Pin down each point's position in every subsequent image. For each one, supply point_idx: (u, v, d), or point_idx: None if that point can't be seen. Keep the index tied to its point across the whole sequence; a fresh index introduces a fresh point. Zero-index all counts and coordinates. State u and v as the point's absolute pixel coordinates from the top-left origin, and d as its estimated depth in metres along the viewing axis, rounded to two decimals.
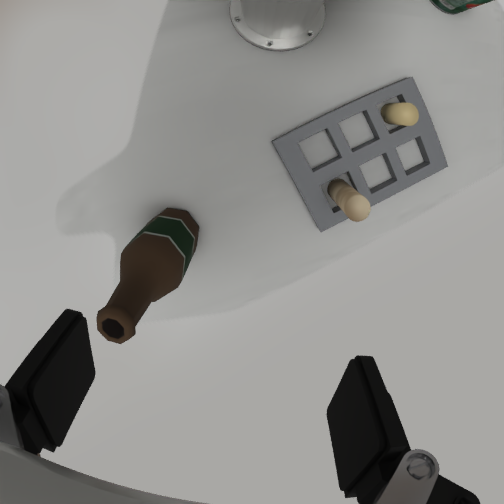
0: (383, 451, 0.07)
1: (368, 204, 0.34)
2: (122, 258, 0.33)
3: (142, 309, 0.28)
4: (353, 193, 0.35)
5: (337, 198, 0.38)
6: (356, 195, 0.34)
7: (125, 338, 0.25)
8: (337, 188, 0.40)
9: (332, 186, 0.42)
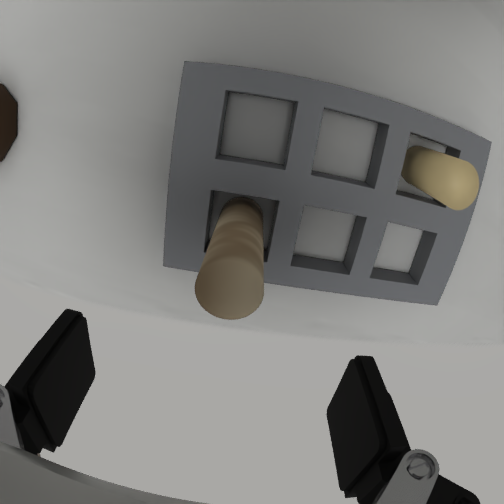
0: (383, 451, 0.07)
1: (258, 298, 0.14)
2: None
3: None
4: (245, 251, 0.15)
5: (214, 235, 0.17)
6: (245, 261, 0.14)
7: None
8: (232, 216, 0.19)
9: (231, 207, 0.20)
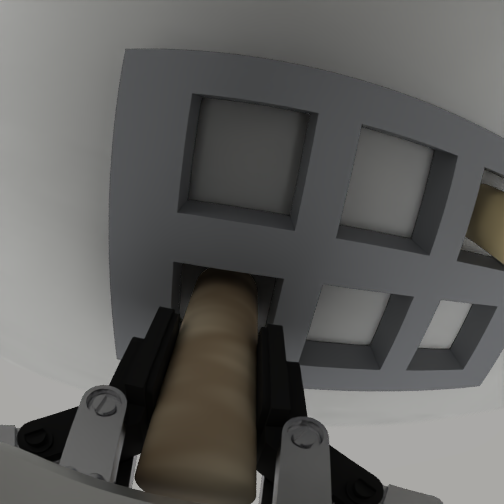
0: (268, 413, 0.08)
1: (247, 499, 0.06)
2: None
3: None
4: (220, 428, 0.07)
5: (173, 360, 0.09)
6: (220, 462, 0.06)
7: None
8: (204, 318, 0.11)
9: (206, 289, 0.13)
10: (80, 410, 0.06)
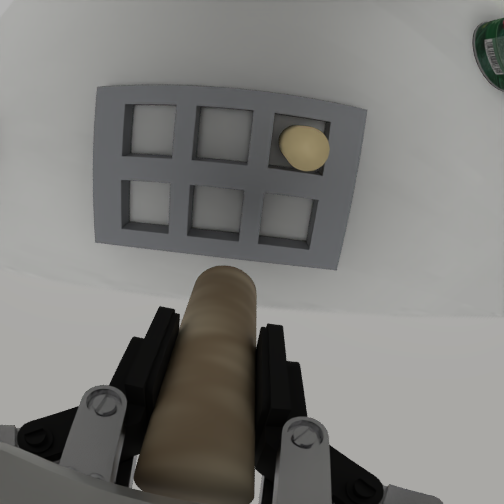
0: (268, 413, 0.08)
1: (245, 499, 0.06)
2: None
3: None
4: (219, 429, 0.07)
5: (172, 361, 0.09)
6: (218, 462, 0.06)
7: None
8: (203, 319, 0.11)
9: (205, 291, 0.13)
10: (80, 410, 0.06)
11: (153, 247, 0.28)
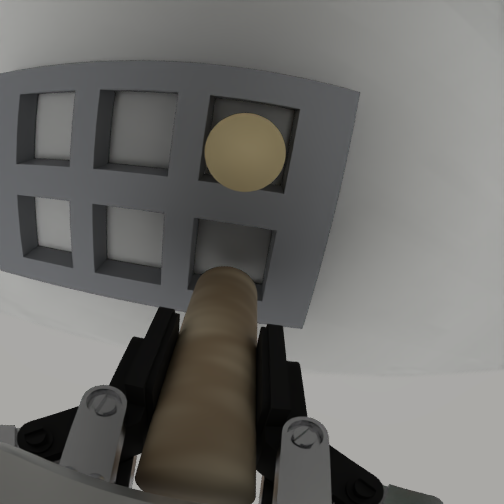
0: (268, 413, 0.08)
1: (246, 500, 0.06)
2: None
3: None
4: (220, 430, 0.07)
5: (173, 362, 0.09)
6: (220, 463, 0.06)
7: None
8: (204, 320, 0.11)
9: (206, 292, 0.13)
10: (80, 410, 0.06)
11: (58, 283, 0.19)
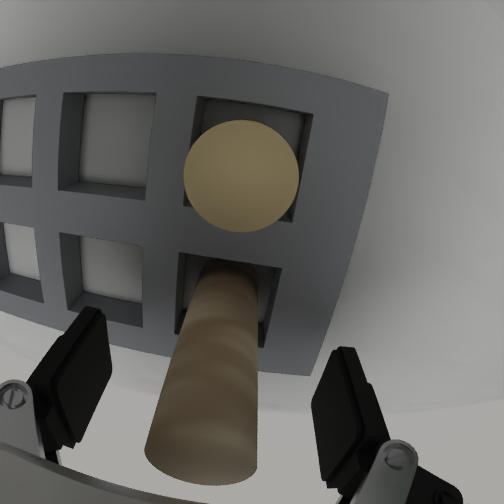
0: (361, 440, 0.07)
1: (248, 470, 0.07)
2: None
3: None
4: (224, 401, 0.08)
5: (179, 343, 0.10)
6: (224, 431, 0.07)
7: None
8: (209, 305, 0.12)
9: (210, 279, 0.14)
10: None
11: (31, 318, 0.15)
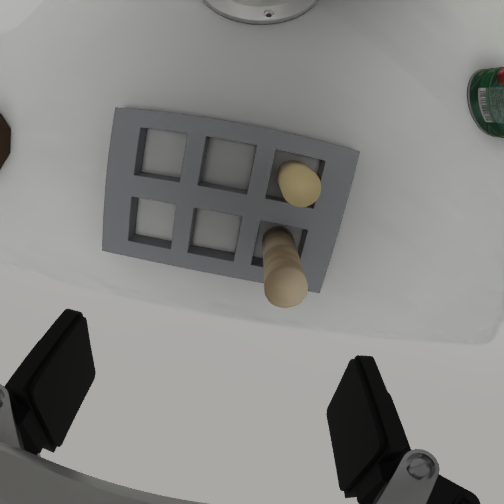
0: (383, 451, 0.07)
1: (304, 293, 0.22)
2: None
3: None
4: (295, 264, 0.23)
5: (269, 253, 0.26)
6: (297, 270, 0.22)
7: None
8: (278, 241, 0.27)
9: (274, 234, 0.29)
10: None
11: (156, 260, 0.30)
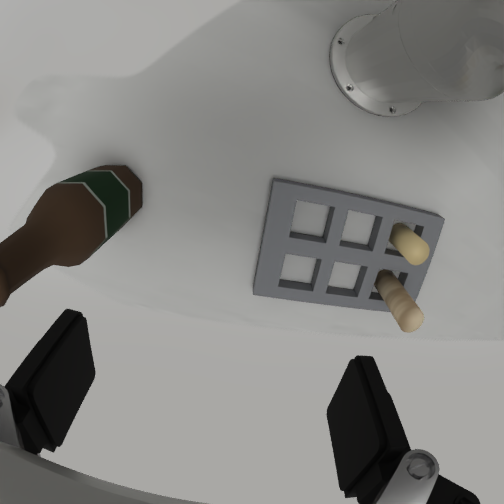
0: (383, 451, 0.07)
1: (421, 322, 0.32)
2: (43, 197, 0.23)
3: (26, 278, 0.19)
4: (415, 304, 0.32)
5: (393, 295, 0.35)
6: (419, 309, 0.31)
7: None
8: (395, 284, 0.36)
9: (387, 277, 0.38)
10: None
11: (299, 299, 0.40)
